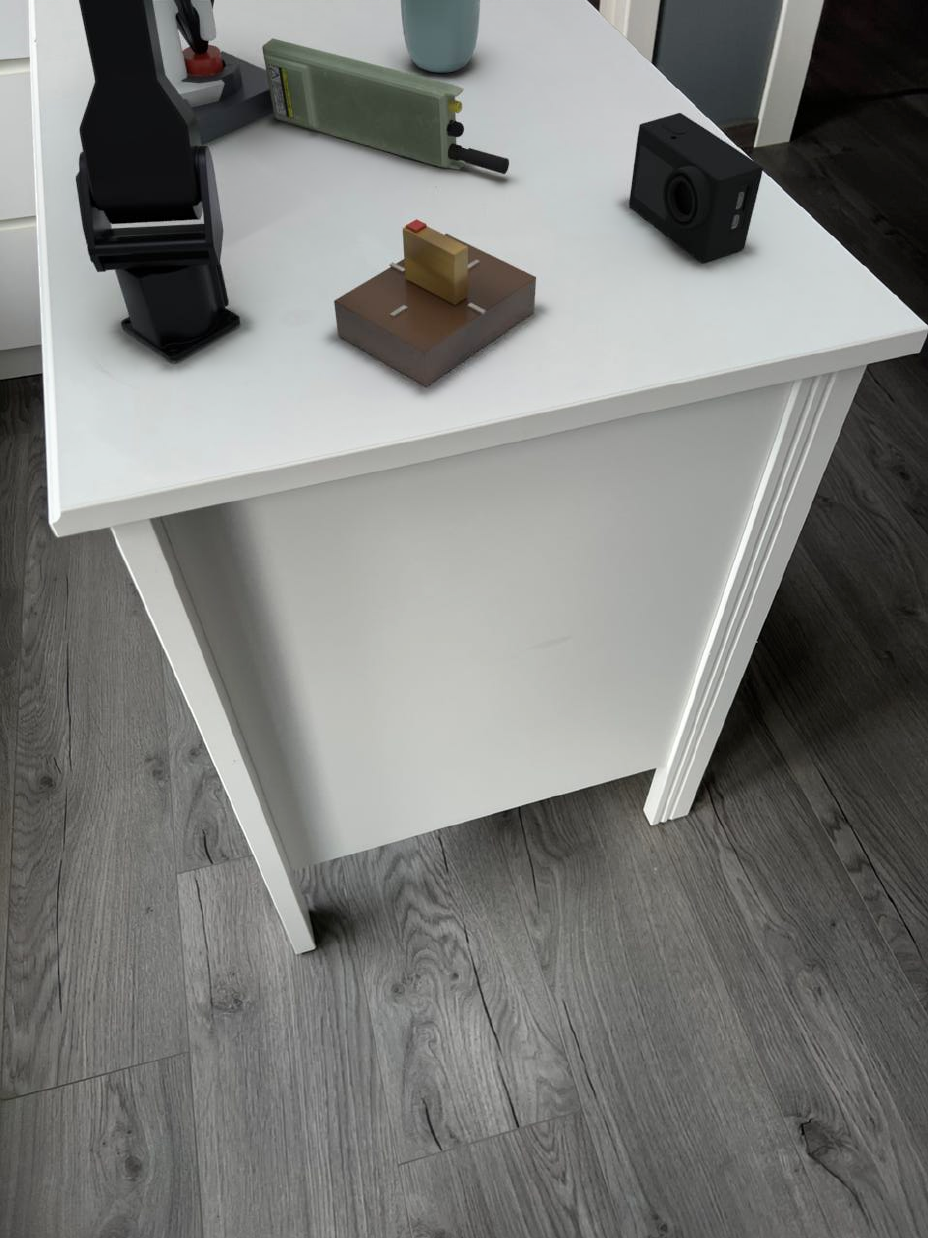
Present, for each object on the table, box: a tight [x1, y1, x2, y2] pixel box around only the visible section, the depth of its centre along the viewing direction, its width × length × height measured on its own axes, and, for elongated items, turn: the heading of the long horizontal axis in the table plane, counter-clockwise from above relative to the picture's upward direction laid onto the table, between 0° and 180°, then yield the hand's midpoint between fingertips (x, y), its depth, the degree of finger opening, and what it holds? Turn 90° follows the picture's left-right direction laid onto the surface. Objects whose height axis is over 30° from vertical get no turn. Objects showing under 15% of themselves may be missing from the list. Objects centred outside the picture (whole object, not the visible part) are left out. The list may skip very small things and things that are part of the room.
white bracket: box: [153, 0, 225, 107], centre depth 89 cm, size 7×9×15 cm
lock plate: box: [333, 233, 537, 387], centre depth 74 cm, size 12×9×3 cm
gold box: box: [402, 218, 468, 305], centre depth 71 cm, size 5×1×4 cm, turn 47°
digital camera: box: [628, 112, 764, 264], centre depth 80 cm, size 10×5×7 cm, turn 29°
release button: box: [182, 44, 223, 76], centre depth 93 cm, size 4×4×2 cm
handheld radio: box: [261, 37, 510, 175], centre depth 89 cm, size 7×3×25 cm
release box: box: [181, 50, 274, 146], centre depth 95 cm, size 12×10×4 cm
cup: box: [400, 0, 481, 74], centre depth 99 cm, size 8×8×10 cm
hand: (200, 51), depth 93 cm, fingers closed, pressing on release button
